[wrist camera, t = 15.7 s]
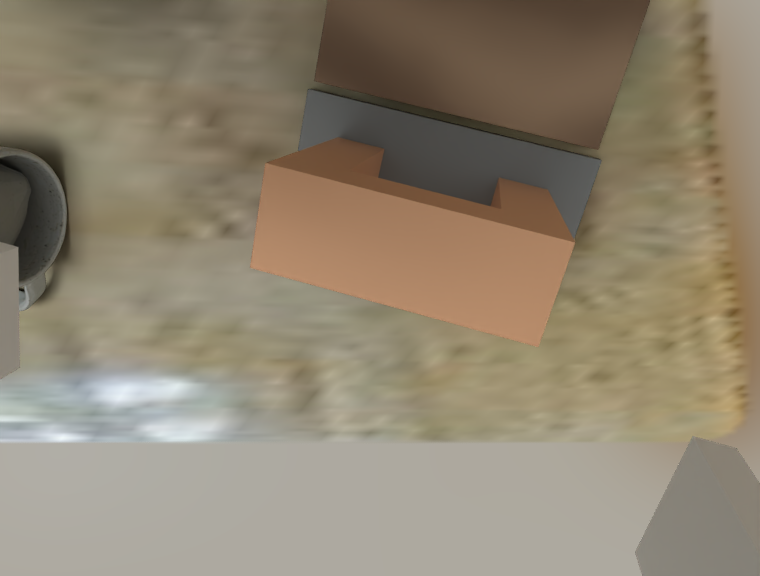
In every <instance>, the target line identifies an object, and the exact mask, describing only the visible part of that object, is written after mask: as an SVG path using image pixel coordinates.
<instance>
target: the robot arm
mask: <svg viewBox="0 0 760 576" xmlns="http://www.w3.org/2000/svg"><path fill="white" fill-rule="evenodd" d="M18 368H20V350H19V263H18V247H17V246H13V245H9V244H6V243H2V242H0V379H2V378H4V377H5V376H7V375H8V374H10V373H12V372H13V371H15V370H17V369H18ZM635 554H636V557H637V560H638V563H639V567H640V570H641V573H642V576H760V483H759V481H758V480H757V478H756V477H755V475H754V474H753V472H752V471H751V469H750V467H749V466H748V465H747V463H746V462H745V460H744V458H743V457H742V455H741V454H740V453H739V451H738V450H737V448H733V447H730V446H727V445H723V444H719V443H716V442H712V441H709V440H705V439H702V438H698V437H695V436H693V437H692V439H691V441H690V443H689V445H688V447H687V449H686V451H685V453H684V455H683V457H682V459H681V461H680V463H679V465H678V467H677V469H676V471H675V473H674V475H673V477H672V479H671V481H670V483H669V485H668V487H667V489H666V491H665V493H664V495H663V497H662V499H661V501H660V503H659V505H658V507H657V509H656V511H655V513H654V515H653V517H652V519H651V521H650V523H649V525H648V527H647V529H646V531H645V533H644V535H643V537H642V540H641V541H640V543H639V545H638V547H637V550H636V551H635Z"/></svg>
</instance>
